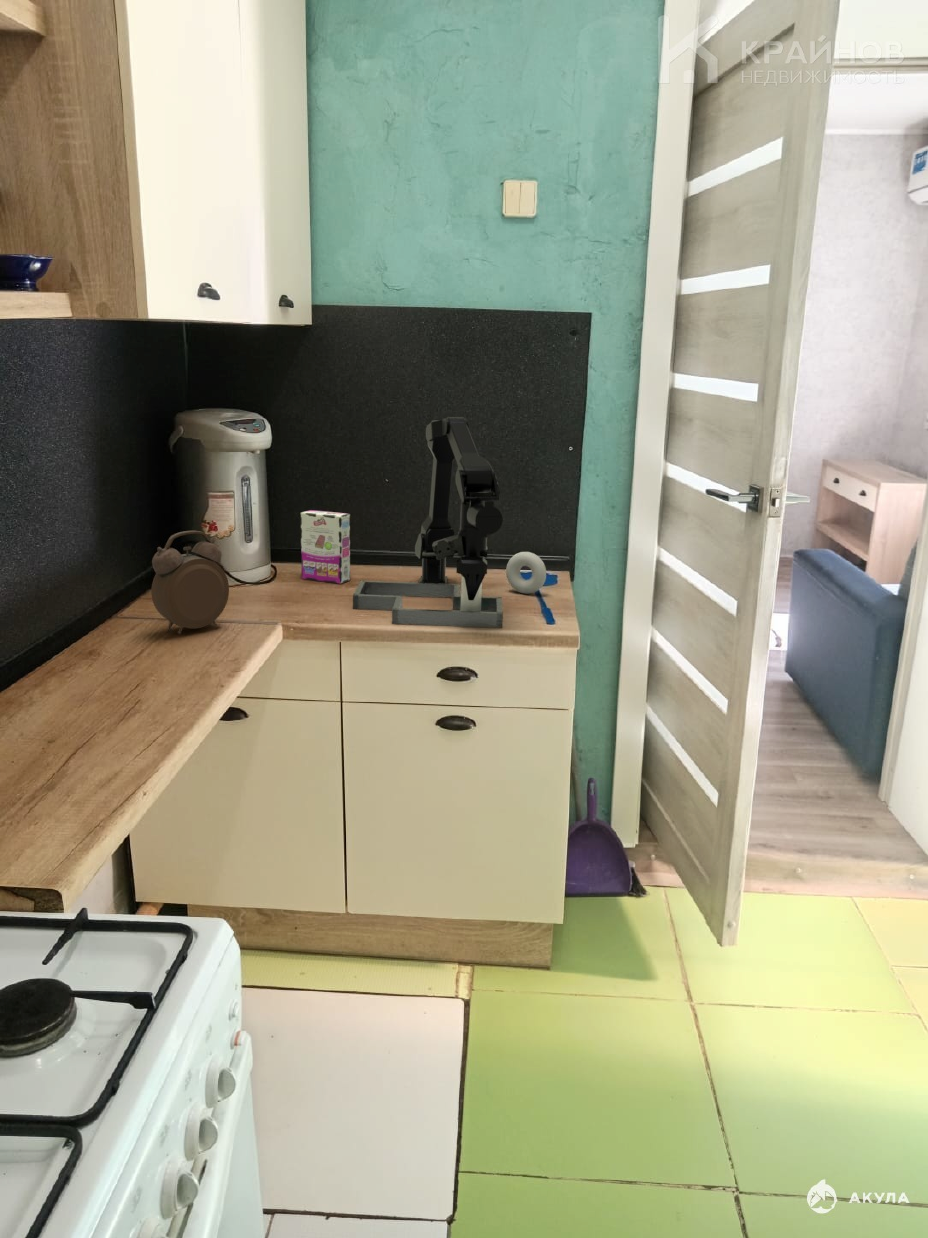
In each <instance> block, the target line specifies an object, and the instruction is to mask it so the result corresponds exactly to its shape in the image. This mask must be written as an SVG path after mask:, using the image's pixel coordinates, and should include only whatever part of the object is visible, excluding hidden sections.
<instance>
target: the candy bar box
mask: <svg viewBox="0 0 928 1238" xmlns="http://www.w3.org/2000/svg"><path fill="white" fill-rule="evenodd" d="M300 550H301V551H300V554H301V555H300V556H301V557H300V558H301V559H300V560H301V580H309V581H315V582H324V583H330V584H332V583H333V584H339V585H341V584H345V583H346V582H349V581H350V580H351V513H345V512H344V513H343V512H333V511H325V510H324V511H323V510H312V509H310V510H305V511H302V512H300Z"/></svg>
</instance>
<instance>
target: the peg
mask: <svg viewBox="0 0 928 1238" xmlns="http://www.w3.org/2000/svg"><path fill="white" fill-rule="evenodd" d="M460 575H461V574H460ZM482 590H483V582H482V583H481V585H480V587H479V589H478V591H477V594H476V596H475V598H474V600H468V595H467V589H466V583H465V578H464V577H463V576H462V575H461V583H460V595H461V609H460V610H459V611H481V598H482V596H483V594H482V592H483V591H482ZM481 612H482V611H481Z"/></svg>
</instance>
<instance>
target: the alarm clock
mask: <svg viewBox="0 0 928 1238" xmlns="http://www.w3.org/2000/svg"><path fill="white" fill-rule="evenodd" d="M195 534H197V535H201V536H202V537H203V538H204V541H199V542H197V543H196V544H195V545H194V547H192V546H190V545H188V546H184V547H183V548H182V550H183V551H186V553H184V554H183V553H182V554H181V553H180V551H178V549H176V548H173V547H171V545H172V544H173V541H174V540H175V539H177V538H179V537H181V536H187V535H195ZM215 539H216V538H214V537H211V538H210V537H208V535H207V534H206V533H205V532H203V531H200V530H199V531H198V530H186V531H180V532H177V533H174V534H171V535H170V537H169V538H168V539H167V542H166V543H165V545H164V548H162V547H161V546H158V547H157V548H156V549H157V552H156V553H155V554H154V555H153V557H152V560H151V565H152V568H153V570H154V572H155V575H154V577H153V581H152V582H151V583H152V584H151V589H150V590H151V599H152V602H153V603H152V604H153V605H154V608H155V610H156V611H157V612H158V613H159V615H160V616H162V617H163V618H165V620H167V621H169V623H168V626H167V628H166V632H167V631H169V632H170V631H171V628H172V626H174V625H176V626H178V627H179V630H178V631H177V634H178V635H180V634H182V631H183V629H184V628H185V629H186V628H187V629H192V630H193V629H201V628H205V627H206V626H208V625H210V624H213V627H218V623H216V620H217V619H218V618H219V617H221V614H223V612H224V610H225V608H226V607H227V604H228V599H229V596H230V583H229V580H228V577H227V575H226V572H225V571H224V569H223V568H222V567H221V566H220V563H221V559H222V557H223V555H222V551H221V549H220V547H219V545H217V544H215V541H216V540H215ZM189 551H191V554H190V553H189ZM192 553H193V554H192Z"/></svg>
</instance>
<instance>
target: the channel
mask: <svg viewBox="0 0 928 1238" xmlns="http://www.w3.org/2000/svg"><path fill="white" fill-rule="evenodd" d="M404 597H421V598H422V597H424V598H445V597H453V598H452V610H449V609H423V608H403V598H404ZM352 609H353V610H372V611H373V610H379V611H391V624H392V625H393V624H395V625H415V626H416V625H418V626H419V625H420V626H444V627H445V626H446V627H448V626H449V627H470V628H471V627H473V628H495V629H496V628H499V629H502V628H503V615H504V613H503V597H502V596H487V595H486V596H485V595H484V596H483V595H482V598H481V611H460V609H461V583H447V584H444V583H420V582H415V581H414V582H411V581H385V580H360V581H359V582H358V585H357V586H356V589H355V591H354V592H353V595H352Z"/></svg>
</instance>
